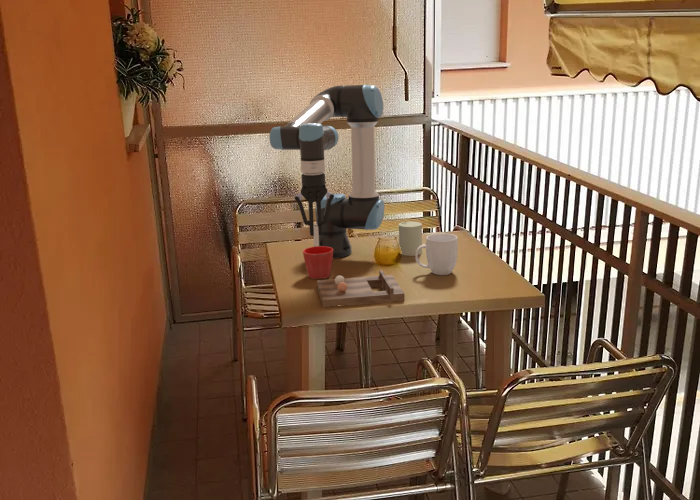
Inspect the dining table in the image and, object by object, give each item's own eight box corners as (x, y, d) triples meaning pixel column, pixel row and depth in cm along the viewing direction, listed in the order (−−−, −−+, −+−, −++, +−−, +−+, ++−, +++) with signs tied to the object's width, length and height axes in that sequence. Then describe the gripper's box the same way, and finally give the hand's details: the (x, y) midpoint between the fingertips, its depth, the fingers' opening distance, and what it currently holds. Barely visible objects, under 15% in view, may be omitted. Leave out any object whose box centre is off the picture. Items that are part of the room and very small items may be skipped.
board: (317, 287, 246) (316, 274, 245) (392, 281, 249) (392, 269, 248) (323, 307, 227) (322, 293, 226) (404, 300, 230) (404, 287, 229)
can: (406, 248, 290) (406, 219, 287) (426, 251, 285) (426, 221, 281) (394, 253, 283) (393, 224, 279) (414, 257, 277) (414, 226, 274)
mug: (417, 278, 252) (417, 242, 248) (413, 269, 262) (413, 234, 259) (460, 276, 252) (460, 240, 249) (454, 267, 263) (454, 232, 259)
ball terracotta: (336, 290, 235) (336, 281, 234) (346, 289, 235) (346, 280, 234) (338, 293, 232) (337, 284, 231) (348, 292, 232) (347, 283, 231)
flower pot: (299, 274, 262) (298, 248, 259) (328, 269, 266) (326, 244, 263) (310, 282, 252) (308, 255, 250) (339, 277, 256) (338, 251, 254)
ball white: (334, 283, 242) (334, 274, 241) (343, 283, 242) (343, 273, 241) (335, 286, 238) (335, 277, 238) (345, 286, 239) (344, 276, 238)
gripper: (293, 176, 225) (297, 249, 231) (334, 173, 226) (337, 246, 233) (291, 172, 232) (295, 243, 238) (332, 170, 234) (335, 241, 240)
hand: (316, 245), depth 235 cm, fingers closed
